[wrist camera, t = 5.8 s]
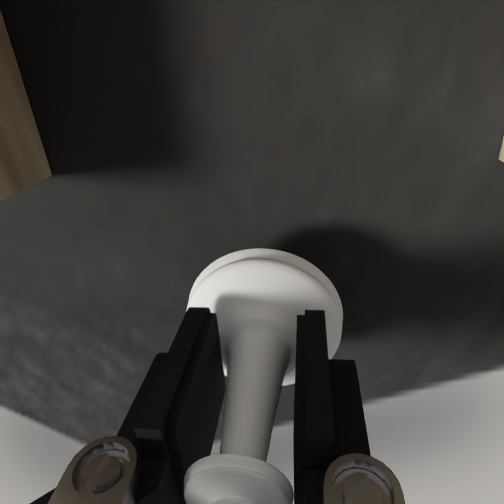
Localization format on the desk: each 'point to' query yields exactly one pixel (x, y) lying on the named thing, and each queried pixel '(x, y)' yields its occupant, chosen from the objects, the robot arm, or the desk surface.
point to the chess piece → (256, 365)
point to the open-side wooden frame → (24, 128)
